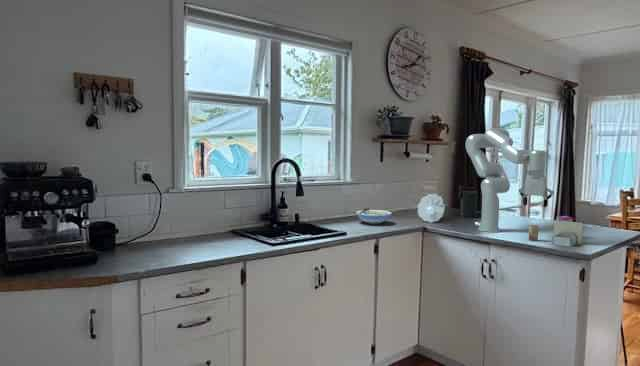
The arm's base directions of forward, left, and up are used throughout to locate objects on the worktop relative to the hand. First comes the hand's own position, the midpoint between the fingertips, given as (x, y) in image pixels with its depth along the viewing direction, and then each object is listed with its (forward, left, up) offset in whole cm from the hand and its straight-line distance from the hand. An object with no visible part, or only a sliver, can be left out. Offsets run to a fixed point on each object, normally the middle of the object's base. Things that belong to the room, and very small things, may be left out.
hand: (535, 206), depth 223 cm
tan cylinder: (0, 0, -18) cm, 18 cm away
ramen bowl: (-90, -21, -19) cm, 94 cm away
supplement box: (+9, +22, -19) cm, 30 cm away
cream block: (+14, +4, -18) cm, 23 cm away
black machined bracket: (-63, +55, -19) cm, 86 cm away
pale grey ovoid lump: (-71, +18, -19) cm, 76 cm away
